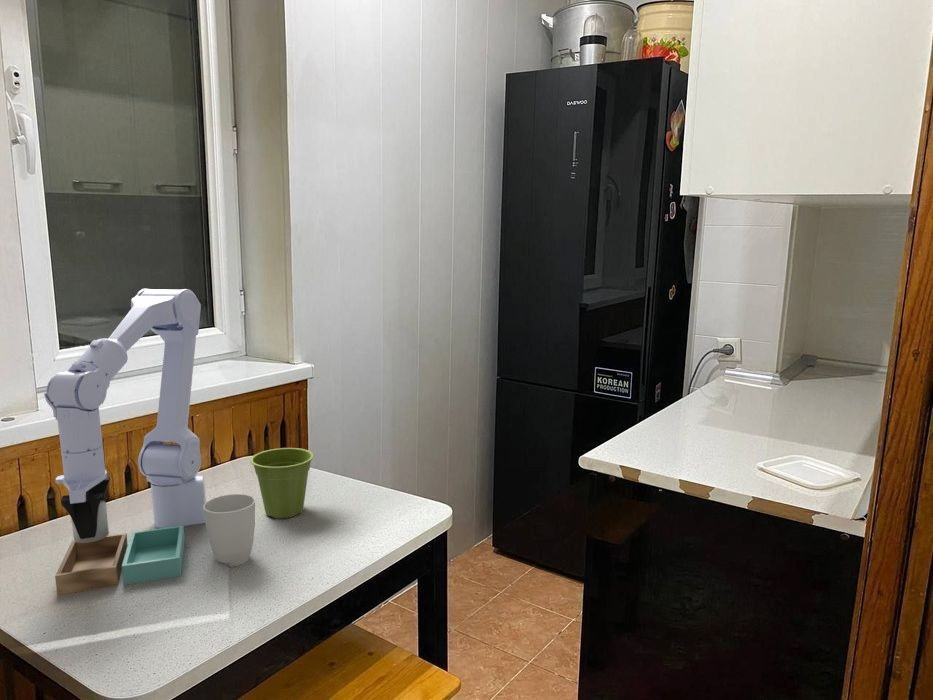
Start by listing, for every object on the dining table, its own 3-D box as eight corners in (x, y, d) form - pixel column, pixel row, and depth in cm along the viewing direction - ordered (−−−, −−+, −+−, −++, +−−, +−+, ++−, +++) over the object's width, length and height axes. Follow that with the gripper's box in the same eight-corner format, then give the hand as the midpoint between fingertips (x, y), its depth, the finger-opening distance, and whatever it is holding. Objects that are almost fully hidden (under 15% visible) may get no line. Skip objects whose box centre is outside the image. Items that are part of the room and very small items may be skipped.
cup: (268, 552, 120) (264, 497, 119) (238, 574, 113) (234, 515, 111) (228, 546, 123) (224, 491, 121) (196, 567, 116) (192, 509, 114)
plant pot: (269, 529, 130) (265, 471, 128) (244, 510, 139) (240, 455, 137) (326, 513, 137) (324, 457, 135) (299, 496, 146) (297, 443, 144)
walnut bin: (128, 553, 121) (126, 532, 120) (118, 590, 108) (115, 567, 108) (74, 561, 118) (72, 540, 117) (57, 599, 106) (55, 576, 105)
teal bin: (185, 545, 123) (183, 525, 123) (181, 580, 111) (179, 557, 111) (133, 553, 121) (131, 532, 120) (124, 589, 109) (121, 566, 108)
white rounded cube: (111, 527, 115) (108, 498, 114) (106, 540, 110) (103, 509, 110) (76, 532, 114) (73, 502, 113) (70, 544, 109) (67, 514, 108)
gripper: (62, 437, 115) (71, 516, 117) (41, 465, 102) (52, 553, 104) (110, 433, 117) (118, 510, 120) (96, 459, 104) (105, 546, 106)
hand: (91, 530), depth 112 cm, fingers closed on white rounded cube, 5 cm apart
